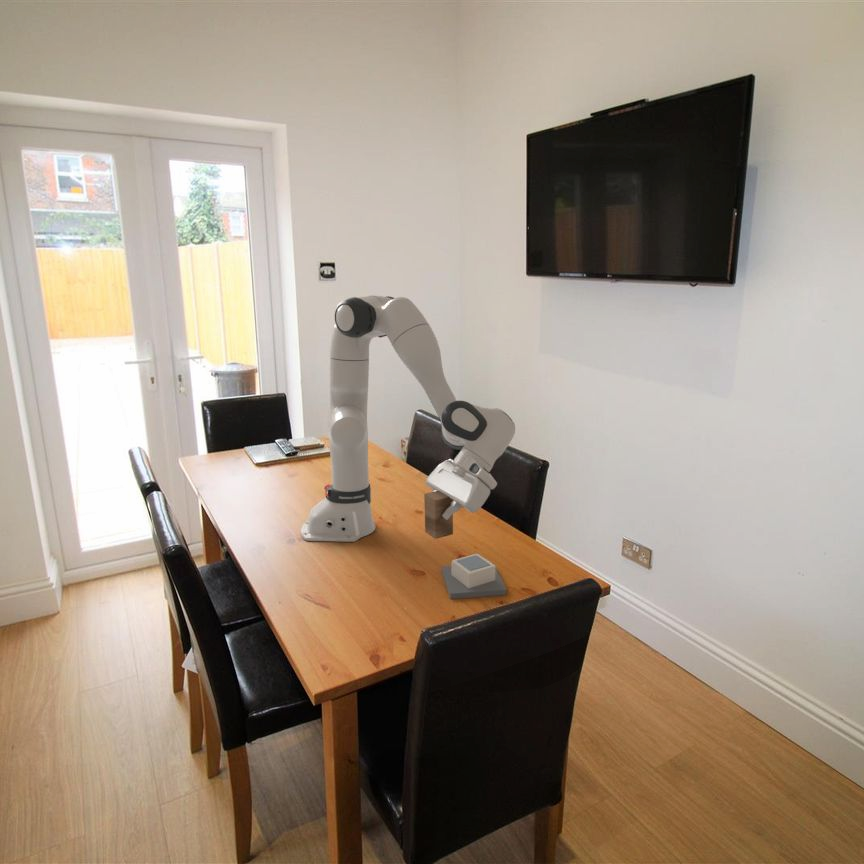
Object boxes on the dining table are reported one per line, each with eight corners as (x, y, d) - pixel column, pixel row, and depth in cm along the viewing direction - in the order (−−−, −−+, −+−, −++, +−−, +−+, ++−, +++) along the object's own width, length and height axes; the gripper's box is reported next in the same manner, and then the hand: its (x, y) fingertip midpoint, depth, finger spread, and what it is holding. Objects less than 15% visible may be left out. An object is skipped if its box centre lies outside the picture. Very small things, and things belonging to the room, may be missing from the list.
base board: (450, 599, 149) (450, 577, 148) (441, 571, 163) (441, 551, 161) (506, 594, 151) (507, 573, 150) (493, 568, 164) (493, 548, 163)
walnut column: (435, 538, 148) (434, 500, 146) (425, 531, 153) (424, 493, 150) (453, 534, 151) (452, 496, 148) (442, 527, 155) (441, 489, 152)
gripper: (440, 450, 159) (408, 493, 157) (486, 472, 142) (450, 520, 140) (455, 463, 162) (423, 506, 160) (501, 486, 145) (467, 534, 143)
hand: (436, 513), depth 150 cm, fingers closed on walnut column, 5 cm apart
